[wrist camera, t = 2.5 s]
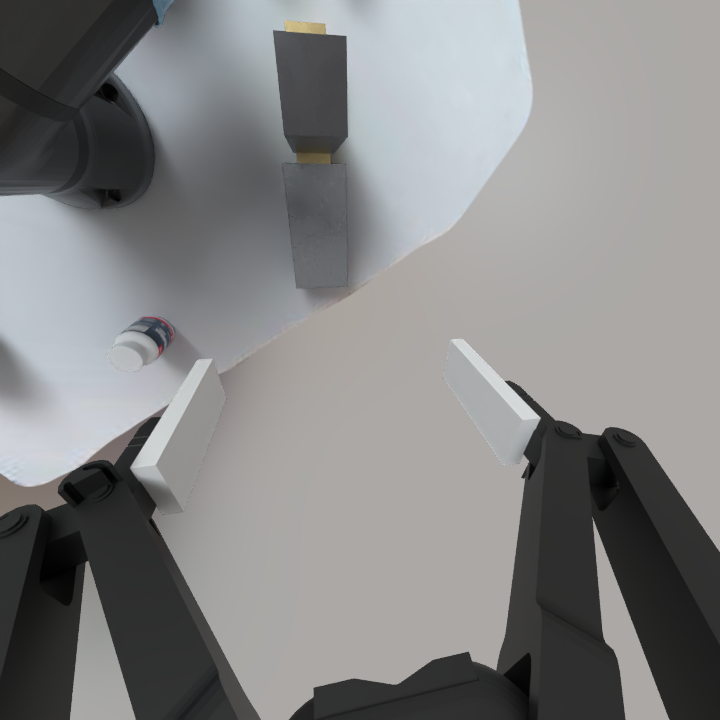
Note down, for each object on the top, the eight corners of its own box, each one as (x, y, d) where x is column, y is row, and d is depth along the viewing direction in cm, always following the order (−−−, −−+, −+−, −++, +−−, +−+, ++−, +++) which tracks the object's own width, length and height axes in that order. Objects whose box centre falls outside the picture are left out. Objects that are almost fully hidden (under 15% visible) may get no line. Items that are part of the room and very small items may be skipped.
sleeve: (343, 275, 44) (347, 286, 39) (298, 277, 43) (296, 288, 38) (341, 166, 36) (345, 164, 32) (285, 165, 35) (282, 162, 31)
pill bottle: (179, 345, 46) (153, 376, 38) (143, 345, 45) (110, 377, 37) (170, 314, 43) (141, 342, 35) (131, 314, 42) (93, 342, 35)
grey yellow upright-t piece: (335, 270, 42) (349, 316, 28) (305, 271, 42) (303, 318, 27) (327, 39, 30) (344, -100, 15) (283, 36, 29) (257, -112, 14)
